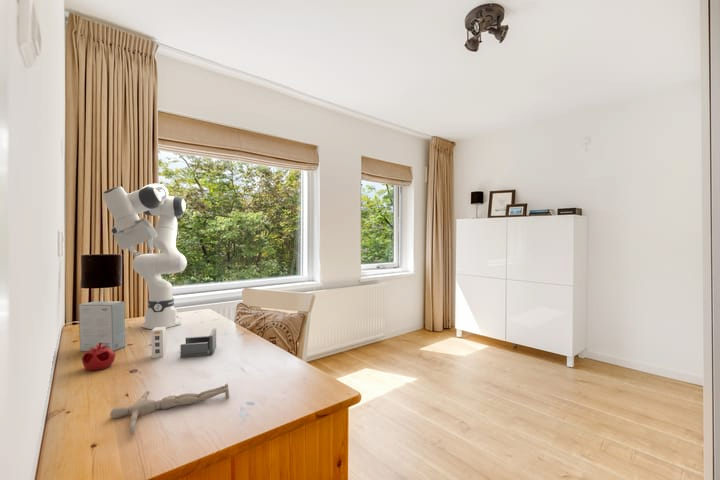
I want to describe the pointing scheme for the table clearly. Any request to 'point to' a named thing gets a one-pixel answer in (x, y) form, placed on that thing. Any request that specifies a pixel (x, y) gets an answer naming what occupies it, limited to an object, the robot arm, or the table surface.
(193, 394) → the artist's mannequin
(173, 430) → the table surface
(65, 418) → the table surface
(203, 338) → the bracket
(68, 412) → the table surface
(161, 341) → the ivory rectangular block
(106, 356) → the pomegranate
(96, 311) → the hard drive box
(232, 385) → the table surface
